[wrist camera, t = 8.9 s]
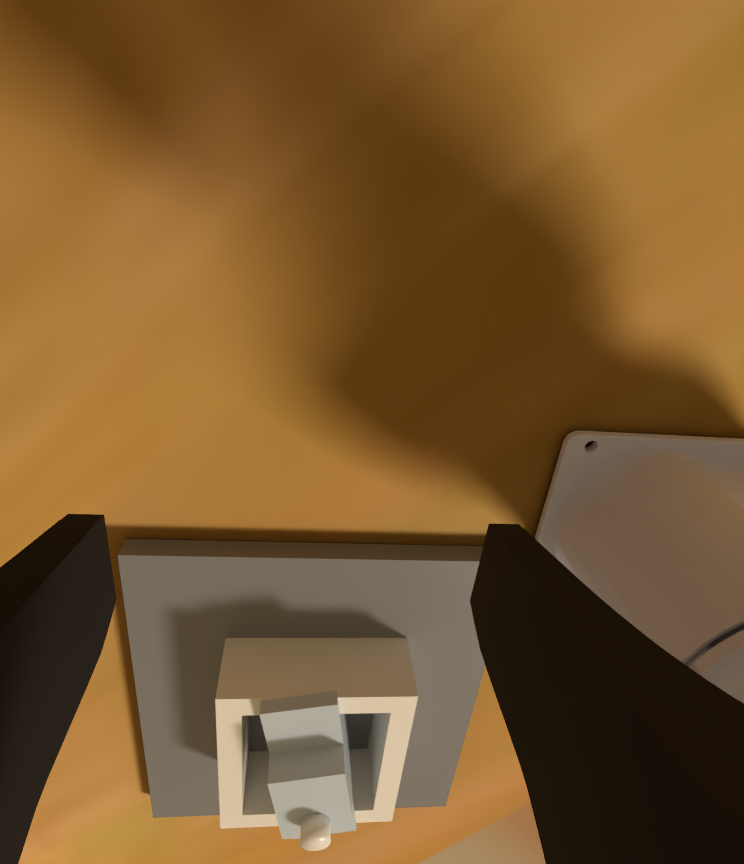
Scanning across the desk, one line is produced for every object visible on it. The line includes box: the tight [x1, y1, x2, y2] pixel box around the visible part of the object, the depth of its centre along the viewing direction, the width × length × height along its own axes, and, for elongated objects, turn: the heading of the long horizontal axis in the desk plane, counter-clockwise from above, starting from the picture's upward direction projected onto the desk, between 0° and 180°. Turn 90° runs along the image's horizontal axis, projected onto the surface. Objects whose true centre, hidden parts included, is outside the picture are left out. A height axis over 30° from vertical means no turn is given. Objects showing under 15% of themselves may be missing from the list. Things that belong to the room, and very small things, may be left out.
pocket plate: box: [118, 539, 485, 828], centre depth 26 cm, size 16×18×4 cm
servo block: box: [259, 691, 356, 851], centre depth 25 cm, size 3×9×6 cm, turn 4°
